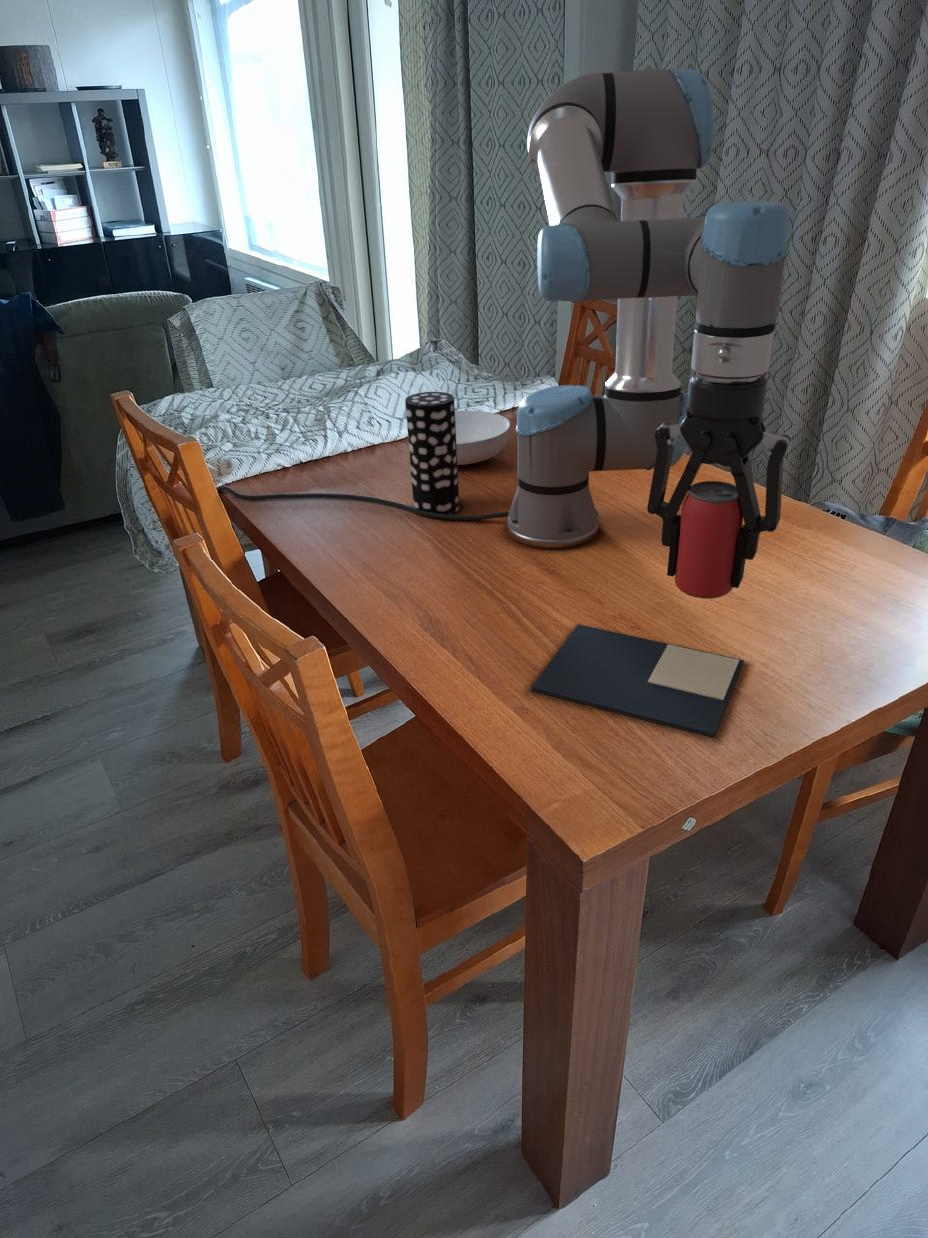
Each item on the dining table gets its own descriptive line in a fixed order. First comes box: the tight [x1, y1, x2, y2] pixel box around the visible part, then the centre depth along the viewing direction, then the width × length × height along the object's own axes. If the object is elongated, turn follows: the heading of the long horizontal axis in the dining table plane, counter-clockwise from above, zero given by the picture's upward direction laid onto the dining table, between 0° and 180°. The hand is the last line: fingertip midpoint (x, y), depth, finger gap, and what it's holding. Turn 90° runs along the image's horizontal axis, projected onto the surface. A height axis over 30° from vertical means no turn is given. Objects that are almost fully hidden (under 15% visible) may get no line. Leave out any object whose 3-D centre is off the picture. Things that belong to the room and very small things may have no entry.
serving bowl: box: [455, 410, 511, 466], centre depth 170 cm, size 21×21×7 cm
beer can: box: [674, 480, 744, 600], centre depth 92 cm, size 7×7×12 cm
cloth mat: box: [530, 624, 745, 739], centre depth 102 cm, size 22×16×1 cm
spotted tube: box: [404, 391, 460, 517], centre depth 145 cm, size 8×8×20 cm
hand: (704, 576), depth 95 cm, fingers closed on beer can, 6 cm apart
